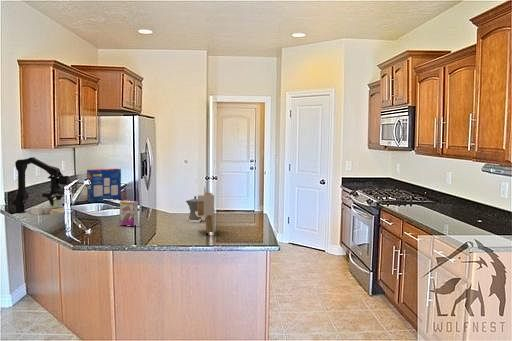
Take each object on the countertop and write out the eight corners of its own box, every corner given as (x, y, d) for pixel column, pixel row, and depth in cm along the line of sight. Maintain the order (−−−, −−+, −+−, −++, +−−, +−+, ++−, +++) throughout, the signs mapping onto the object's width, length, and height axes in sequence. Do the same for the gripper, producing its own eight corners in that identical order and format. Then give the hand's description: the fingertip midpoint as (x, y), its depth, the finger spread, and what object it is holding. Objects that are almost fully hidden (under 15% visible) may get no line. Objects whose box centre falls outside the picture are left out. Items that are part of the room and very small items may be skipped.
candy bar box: (119, 225, 280) (119, 201, 279) (124, 224, 285) (123, 200, 284) (133, 227, 277) (133, 202, 275) (138, 226, 282) (138, 201, 280)
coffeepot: (186, 223, 294) (186, 197, 292) (184, 220, 303) (184, 195, 301) (208, 222, 298) (208, 196, 297) (206, 219, 307) (206, 195, 306)
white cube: (31, 214, 314) (31, 207, 313) (36, 213, 319) (36, 206, 318) (36, 214, 312) (36, 207, 312) (41, 213, 317) (41, 206, 316)
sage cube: (50, 206, 317) (49, 200, 317) (55, 205, 322) (55, 199, 321) (55, 207, 315) (55, 200, 315) (60, 206, 320) (60, 199, 320)
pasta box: (116, 198, 398) (116, 168, 396) (121, 199, 393) (120, 169, 390) (87, 201, 379) (87, 169, 376) (91, 202, 373) (91, 170, 371)
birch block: (44, 214, 317) (44, 208, 316) (56, 212, 326) (56, 206, 325) (54, 215, 312) (54, 210, 312) (65, 213, 321) (65, 208, 321)
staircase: (198, 236, 257) (198, 189, 255) (194, 230, 273) (195, 186, 270) (214, 236, 260) (215, 189, 257) (209, 230, 275) (210, 185, 273)
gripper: (52, 186, 306) (53, 208, 307) (72, 184, 323) (73, 204, 324) (41, 185, 310) (41, 206, 311) (61, 183, 327) (61, 203, 328)
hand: (55, 205), depth 319 cm, fingers closed on sage cube, 5 cm apart
